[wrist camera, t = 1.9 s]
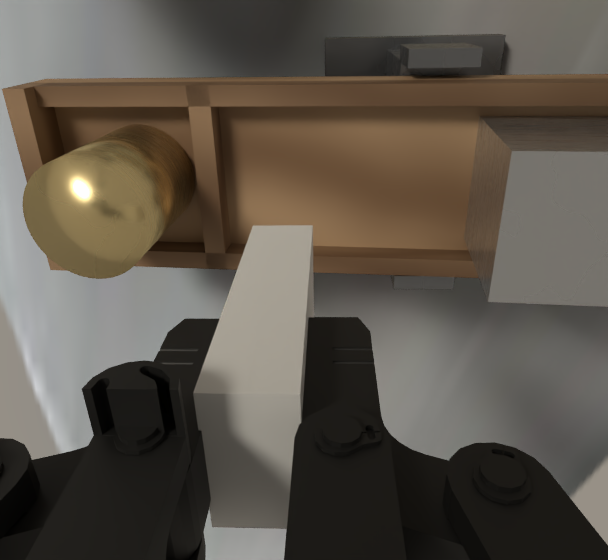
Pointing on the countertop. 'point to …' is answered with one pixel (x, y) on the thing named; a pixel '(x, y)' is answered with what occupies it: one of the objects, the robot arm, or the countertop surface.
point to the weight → (109, 200)
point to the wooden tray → (307, 156)
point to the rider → (540, 209)
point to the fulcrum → (415, 62)
